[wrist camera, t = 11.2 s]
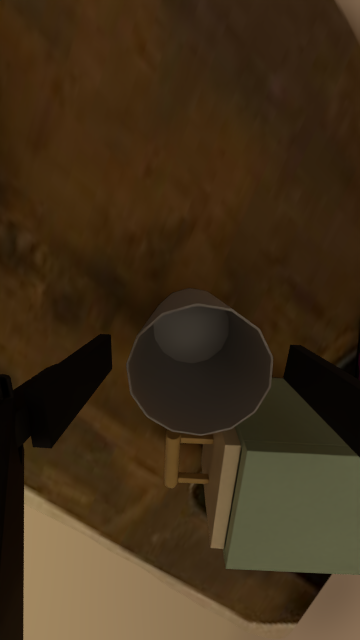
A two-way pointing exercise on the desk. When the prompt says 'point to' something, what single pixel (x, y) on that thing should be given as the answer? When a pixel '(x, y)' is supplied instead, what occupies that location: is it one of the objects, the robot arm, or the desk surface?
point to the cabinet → (293, 492)
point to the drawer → (209, 475)
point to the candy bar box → (359, 368)
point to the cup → (198, 365)
